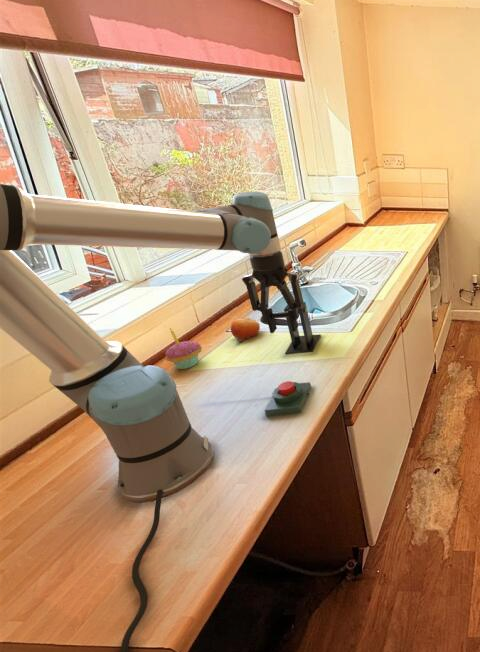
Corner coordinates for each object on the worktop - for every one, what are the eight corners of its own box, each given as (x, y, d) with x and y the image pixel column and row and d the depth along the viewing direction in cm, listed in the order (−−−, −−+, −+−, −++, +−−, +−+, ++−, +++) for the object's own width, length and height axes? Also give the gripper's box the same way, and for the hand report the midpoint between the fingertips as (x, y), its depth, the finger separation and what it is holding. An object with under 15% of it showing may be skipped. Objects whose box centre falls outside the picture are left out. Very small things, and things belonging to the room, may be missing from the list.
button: (292, 394, 102) (291, 389, 101) (277, 396, 101) (275, 390, 100) (296, 385, 105) (295, 380, 104) (282, 387, 104) (280, 381, 104)
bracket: (313, 353, 125) (304, 312, 119) (285, 356, 124) (275, 313, 118) (321, 337, 134) (312, 297, 128) (295, 339, 133) (286, 299, 127)
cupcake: (163, 369, 117) (148, 333, 112) (192, 354, 124) (180, 320, 119) (183, 375, 114) (169, 339, 109) (212, 359, 121) (200, 325, 116)
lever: (289, 319, 111) (289, 310, 111) (270, 320, 111) (269, 311, 110) (306, 313, 125) (305, 305, 125) (289, 314, 125) (288, 307, 124)
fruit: (221, 338, 130) (228, 314, 130) (245, 339, 137) (252, 317, 137) (235, 344, 126) (243, 320, 127) (259, 345, 134) (267, 322, 134)
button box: (301, 413, 101) (297, 401, 99) (266, 417, 99) (262, 404, 98) (311, 388, 110) (308, 376, 108) (280, 391, 108) (276, 379, 107)
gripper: (306, 246, 109) (321, 321, 119) (233, 249, 106) (255, 326, 116) (298, 255, 103) (314, 334, 112) (220, 259, 99) (244, 339, 109)
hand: (284, 329), depth 114 cm, fingers open, 5 cm apart
